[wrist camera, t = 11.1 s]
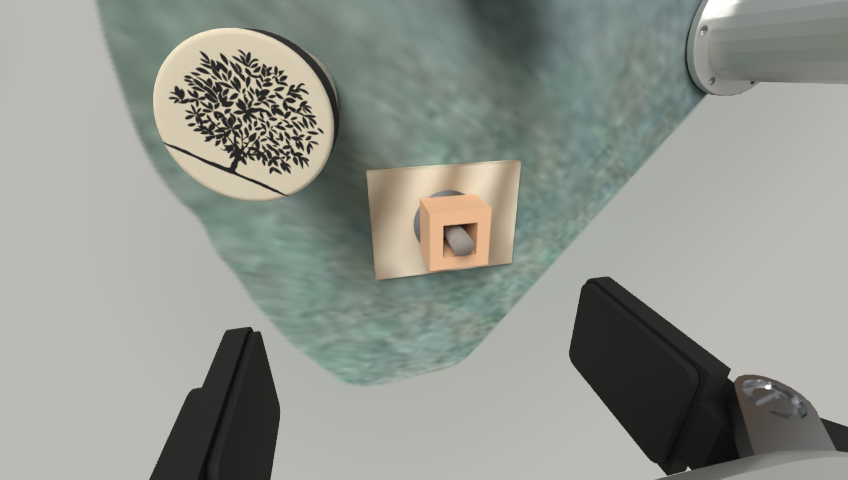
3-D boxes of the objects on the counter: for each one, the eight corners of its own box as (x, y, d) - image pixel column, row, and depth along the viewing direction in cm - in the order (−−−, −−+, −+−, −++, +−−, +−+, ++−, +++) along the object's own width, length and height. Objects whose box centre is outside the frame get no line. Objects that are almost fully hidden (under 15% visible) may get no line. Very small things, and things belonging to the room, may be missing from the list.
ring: (475, 194, 39) (491, 208, 35) (472, 245, 41) (487, 264, 37) (419, 198, 37) (429, 213, 34) (420, 251, 40) (429, 271, 36)
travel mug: (272, 22, 30) (200, -29, 14) (354, 87, 33) (372, 105, 17) (223, 105, 32) (110, 142, 16) (307, 159, 35) (283, 235, 19)
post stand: (516, 159, 40) (550, 177, 33) (507, 258, 45) (535, 290, 38) (365, 170, 37) (372, 191, 30) (374, 274, 42) (382, 311, 35)
